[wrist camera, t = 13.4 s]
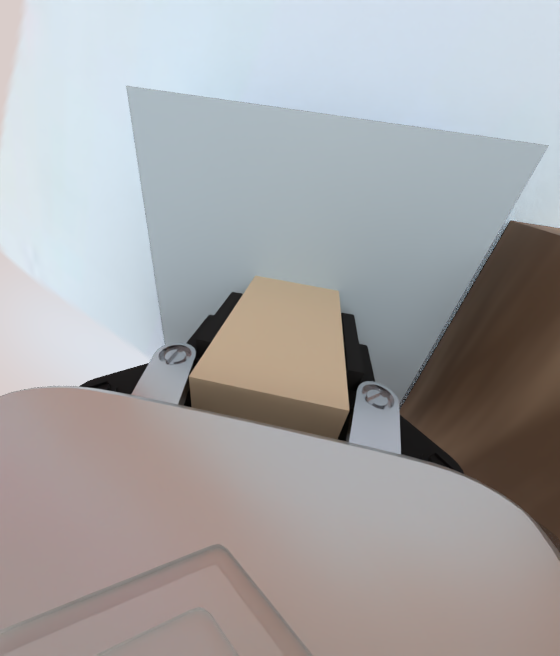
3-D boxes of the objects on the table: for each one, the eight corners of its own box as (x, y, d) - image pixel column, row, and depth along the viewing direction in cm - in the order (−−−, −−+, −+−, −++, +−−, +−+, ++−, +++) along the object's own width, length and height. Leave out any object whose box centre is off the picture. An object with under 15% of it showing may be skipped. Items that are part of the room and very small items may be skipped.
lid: (508, 149, 10) (1088, 96, 2) (372, 415, 19) (402, 584, 11) (160, 99, 11) (-234, -57, 3) (187, 376, 20) (98, 508, 12)
